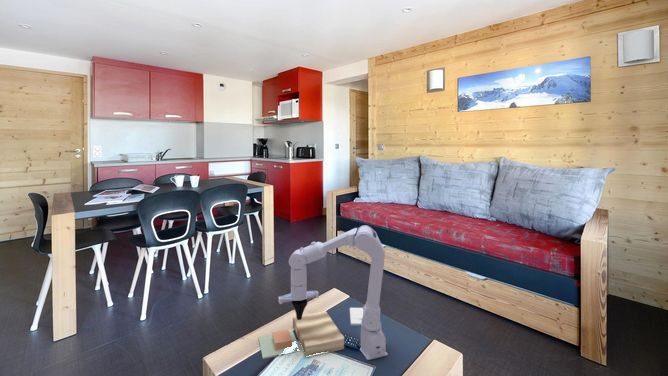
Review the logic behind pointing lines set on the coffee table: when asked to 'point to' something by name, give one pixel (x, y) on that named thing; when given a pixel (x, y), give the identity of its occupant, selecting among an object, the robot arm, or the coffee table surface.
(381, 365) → the coffee table surface
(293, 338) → the mat
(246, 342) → the coffee table surface
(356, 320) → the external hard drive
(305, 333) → the wavy block
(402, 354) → the coffee table surface
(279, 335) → the tile
